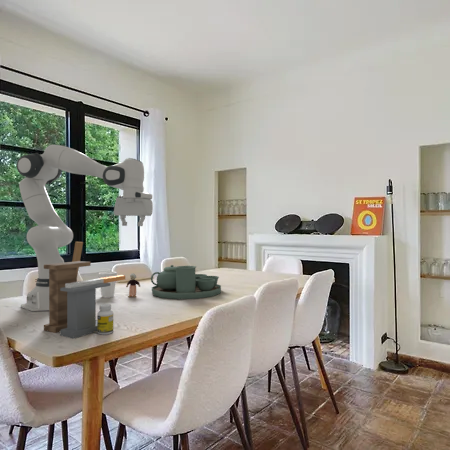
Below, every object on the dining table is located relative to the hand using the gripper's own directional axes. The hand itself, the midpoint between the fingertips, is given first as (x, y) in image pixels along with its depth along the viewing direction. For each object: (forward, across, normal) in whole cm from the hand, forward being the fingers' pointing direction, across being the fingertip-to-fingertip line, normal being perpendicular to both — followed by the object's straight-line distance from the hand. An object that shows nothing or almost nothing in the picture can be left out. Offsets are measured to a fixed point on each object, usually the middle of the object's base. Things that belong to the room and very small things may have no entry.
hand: (132, 226), depth 159 cm
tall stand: (+39, -3, -28) cm, 48 cm away
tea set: (+37, -6, +51) cm, 64 cm away
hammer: (+40, -68, +22) cm, 82 cm away
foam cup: (+39, -37, +21) cm, 58 cm away
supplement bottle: (+39, +16, -27) cm, 50 cm away
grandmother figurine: (+38, -24, +27) cm, 53 cm away
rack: (+39, +8, -29) cm, 49 cm away
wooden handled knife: (+22, +7, -24) cm, 34 cm away
